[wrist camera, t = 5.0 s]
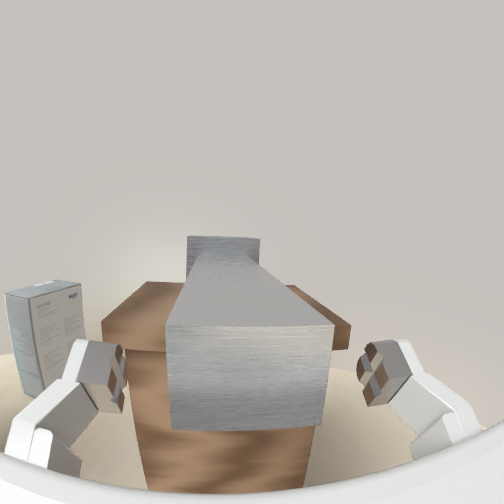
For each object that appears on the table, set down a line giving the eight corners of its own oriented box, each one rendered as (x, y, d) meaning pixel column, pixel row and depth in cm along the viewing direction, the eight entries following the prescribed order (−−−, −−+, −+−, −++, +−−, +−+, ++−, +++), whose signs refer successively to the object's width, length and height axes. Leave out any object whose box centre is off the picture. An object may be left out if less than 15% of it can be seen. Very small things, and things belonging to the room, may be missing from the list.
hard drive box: (66, 366, 57) (57, 279, 55) (92, 374, 56) (83, 282, 54) (21, 393, 41) (3, 291, 40) (47, 405, 40) (28, 297, 39)
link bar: (135, 426, 7) (121, 261, 7) (188, 283, 29) (189, 235, 28) (352, 419, 8) (375, 268, 7) (252, 284, 29) (254, 237, 29)
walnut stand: (156, 557, 17) (101, 321, 15) (165, 480, 30) (147, 281, 28) (298, 554, 19) (351, 325, 17) (275, 479, 32) (294, 285, 30)
